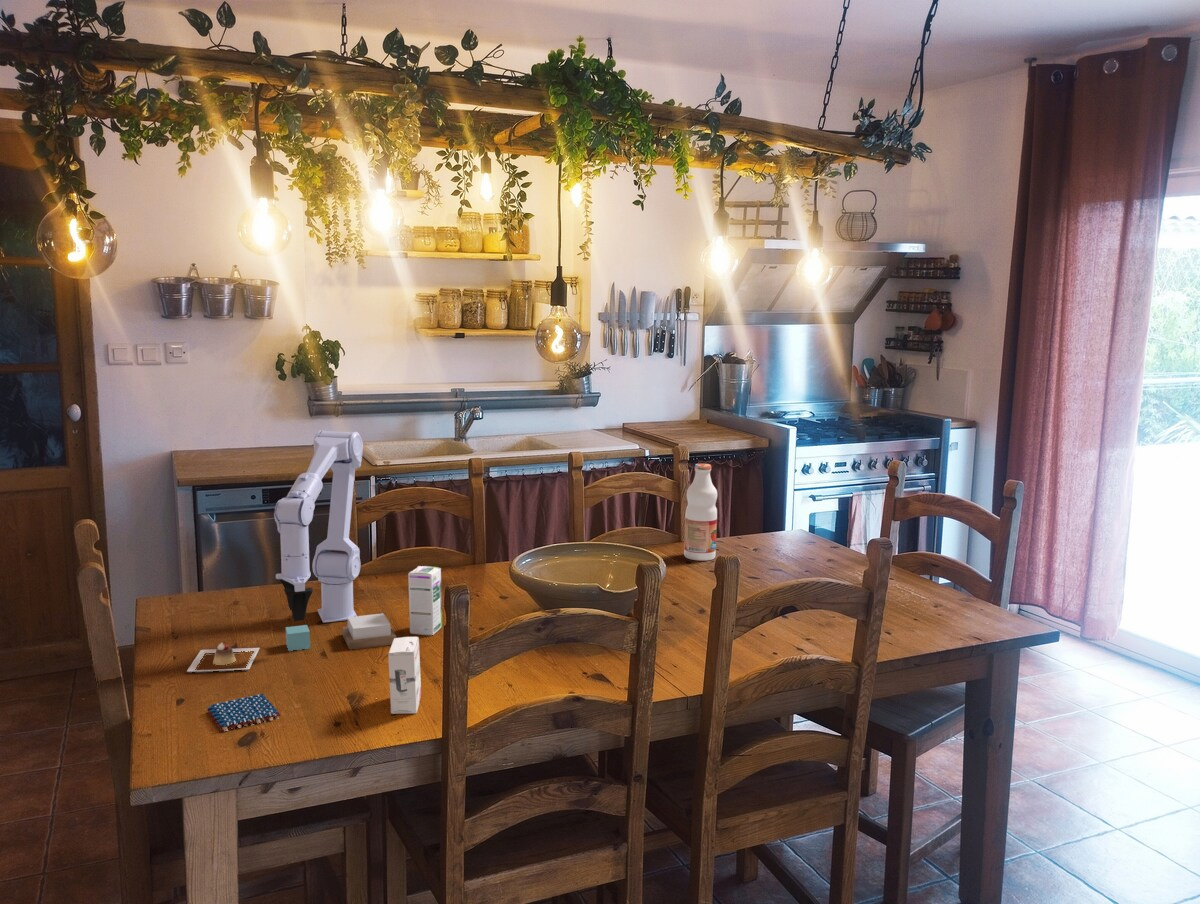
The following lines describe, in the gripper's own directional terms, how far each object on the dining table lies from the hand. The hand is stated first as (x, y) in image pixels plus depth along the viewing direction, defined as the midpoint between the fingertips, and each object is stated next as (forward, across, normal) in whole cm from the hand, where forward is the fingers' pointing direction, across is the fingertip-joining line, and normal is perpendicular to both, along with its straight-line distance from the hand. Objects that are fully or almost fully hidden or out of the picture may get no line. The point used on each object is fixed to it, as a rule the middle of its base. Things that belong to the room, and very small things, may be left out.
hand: (296, 614), depth 206 cm
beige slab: (+8, +1, +15) cm, 17 cm away
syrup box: (+7, 0, +28) cm, 29 cm away
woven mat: (+8, +32, -13) cm, 35 cm away
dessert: (+8, +4, -15) cm, 17 cm away
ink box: (+8, +38, +15) cm, 41 cm away
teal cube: (+7, 0, 0) cm, 7 cm away
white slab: (+5, +1, +15) cm, 16 cm away
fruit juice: (+7, -34, +119) cm, 124 cm away
